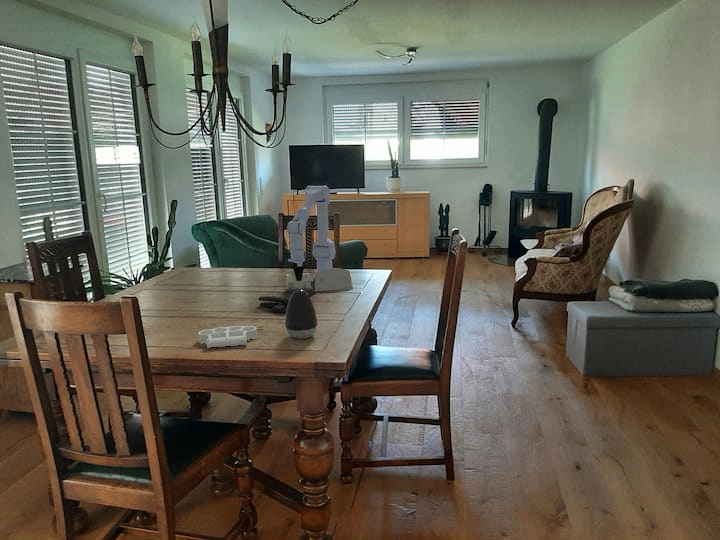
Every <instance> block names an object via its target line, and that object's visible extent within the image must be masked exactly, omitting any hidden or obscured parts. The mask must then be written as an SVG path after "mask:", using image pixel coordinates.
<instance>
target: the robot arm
mask: <svg viewBox="0 0 720 540" xmlns="http://www.w3.org/2000/svg"><path fill="white" fill-rule="evenodd" d="M304 194H305V195H304V196H305V198H304V200H303V203H302V206H301V207H299V208H298V209H297V211H296V212H295V215H294V216H293V219H292V220H290V221H289V222H287V225H286V232H287V234H288V239H289V243H290V244H289V246H290V259H289V258H287V261H288V262H291V263H290V265H291V268H292V270H293V274H295V276H296V280H297V281H302V275H303V273H304V271H305V268H306V264H305V260H306V259H305V247H304V246H305V245H304V234H305V232H306V229H307V228H306V227H307V222H308V219H309V217H310V215H311V212H310V211H311V209H312V207H313V206H314V205H315V206H316V215H317V217H316V218H317V219H316V221H317V239H316V241H314V242H313V247H312V255H313V258H314V259H315V260H316V272H318V271H321V270H324V269H328V268H333V260H334V258H335V257H336V247H335V242H334V241H332V240H331V239H330V238H329V204H330V203H331V191H330V188H329V187H328V185H307V186H306V188H305V191H304Z"/></svg>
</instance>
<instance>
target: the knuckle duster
mask: <svg viewBox="0 0 720 540" xmlns="http://www.w3.org/2000/svg"><path fill="white" fill-rule="evenodd" d="M257 329H258V328H257V326H253V325H245V326H244V325H243V326H242V325H231V326H220V327H215V328H209V329H201V330H200V331H198V332H197V338H198V340H197V341H198V342H199V341H200V342H207V344H206V348H207V349H208V348H211V347H219V348H225V347H224V346H231V347H239V346H238V345H242V346H244V345H245V346H247V345H248V341H247V340H248V339H253V338H255V337H257V338H258V331H257ZM253 340H254V339H253ZM211 349H212V348H211Z"/></svg>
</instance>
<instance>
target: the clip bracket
mask: <svg viewBox="0 0 720 540" xmlns="http://www.w3.org/2000/svg"><path fill="white" fill-rule="evenodd" d="M310 283H311V280H310V281H305V288H297V289H294V282H289V289H287V286H285V291H286V293H288V294H289V293H293V292H295V291H296V290H304V291H306V292H313V291H314V288H313V287H312V285H311V287H310Z"/></svg>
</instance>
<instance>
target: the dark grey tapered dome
mask: <svg viewBox="0 0 720 540" xmlns="http://www.w3.org/2000/svg"><path fill="white" fill-rule="evenodd" d="M316 294H317V291H315V290H313V291H309V292H308V291H304V290H296V291H295V292H292V293H291V296H290V298H289V302H288V306H287V310H286V311H285V319H284V326H285V328H286V331H287V333H288V334H289V336H290V337H292V338H294V339H296V338H297V340H303V339H308V338H310V337H312V336H313V335H314V334H315V332H316V330H317V326H318V317H317V313H316V308H315V306H314V303H313V300H312V298H311V297H313V296H316Z"/></svg>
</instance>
